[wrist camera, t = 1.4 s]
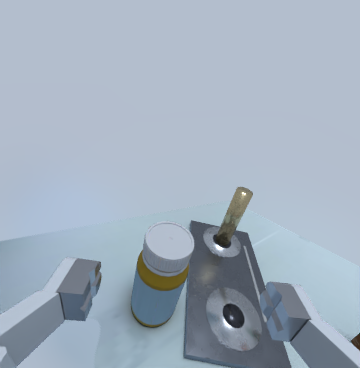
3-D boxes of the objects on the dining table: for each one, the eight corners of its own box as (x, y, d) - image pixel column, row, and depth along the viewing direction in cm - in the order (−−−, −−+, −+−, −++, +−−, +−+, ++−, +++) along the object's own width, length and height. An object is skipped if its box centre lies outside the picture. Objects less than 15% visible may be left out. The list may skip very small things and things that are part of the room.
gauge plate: (183, 357, 26) (219, 294, 18) (190, 223, 49) (206, 171, 41) (289, 378, 26) (367, 325, 19) (245, 236, 50) (272, 187, 42)
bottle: (155, 275, 35) (171, 212, 27) (182, 306, 31) (208, 244, 24) (121, 300, 30) (129, 232, 23) (148, 341, 26) (168, 275, 19)
